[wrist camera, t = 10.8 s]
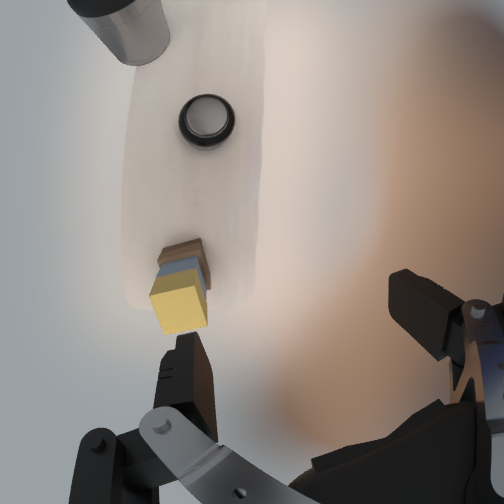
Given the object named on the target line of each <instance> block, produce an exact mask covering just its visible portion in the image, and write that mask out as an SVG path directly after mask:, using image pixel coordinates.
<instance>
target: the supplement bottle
mask: <svg viewBox="0 0 504 504" xmlns="http://www.w3.org/2000/svg"><path fill="white" fill-rule="evenodd" d="M178 124H179V129H180V132H181V134H182V136H183V137H184V138H185V139H186V141H187V142H188V143H189V144H190V145H192V146H193V147H195V148H197V149H200V150H211V149H214V148H217V147H219V146H220V145H221V144H223V143H224V142H225V141H226V139H227V138H228V137H229V136H230V135H231V133H232V131H233V129H234V125H235V114H234V111H233V108H232V107H231V105H230V104H229V103H228V102H227V101H226V100H225V99H224V98H222V97H220V96H218V95H214V94H202V95H198V96H195V97H193V98H192V99H190V100H189V101H188V102H187V103H186V104H185V105H184V106H183V108H182V109H181V111H180V114H179V119H178Z"/></svg>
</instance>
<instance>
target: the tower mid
mask: <svg viewBox="0 0 504 504" xmlns="http://www.w3.org/2000/svg"><path fill="white" fill-rule="evenodd" d="M194 268H196V269H197V273H198V276H199V279H200V283H201V286H202V289H203V293H204V296H205V299H206V286H205V282H204V279H203V275H202V272H201V268H200V265H199V261H198V258H197V255H196V256H192V257H188V258H184V259H180V260H176V261H172V262H168V263H164V264H162V265H161V267H160V270H159V272H158V274H157V277H160V276H165V275H169V274H173V273H177V272H181V271H185V270H189V269H194ZM157 277H156V278H157Z"/></svg>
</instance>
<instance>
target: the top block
mask: <svg viewBox="0 0 504 504" xmlns="http://www.w3.org/2000/svg"><path fill="white" fill-rule="evenodd" d="M149 297H150V300H151V303H152V305H153V308H154V310H155V313H156V315H157V318H158V320H159V323H160V325H161V327H162V330H163V332H164V334H165V335H167V334H172V333H176V332H182V331H187V330H191V329H196V328H201V327H205V326H207V324H208V323H207V302H206V299H205V296H204V293H203V289H202V286H201V283H200V279H199V276H198V273H197V269H196V268H194V269H189V270H185V271H181V272H177V273H173V274H169V275H165V276H160V277H157V278H156V280H155V282H154V285H153V287H152V290H151V292H150V295H149Z"/></svg>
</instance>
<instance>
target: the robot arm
mask: <svg viewBox="0 0 504 504" xmlns="http://www.w3.org/2000/svg"><path fill="white" fill-rule="evenodd" d="M67 2H68V4H69V5H70V7H71V8H72V9H73V10H74V11H75V12H76V14H77V15H78V16H79V17H80V18H81V19H82V20H83V21H84V22H85V23H86V24H87V25H88V26H89V27H90V29H91V30H92V31H93V32H94V33H95V34H96V35H97V36H98V37H99V38H100V40H101V41H102V42H103V43H104V44H105V45H106V46H107V47H108V49H109V50H110V51H111V52H112V53H113V54H114V55H115V56H116V57H117V59H118V60H119V61H120V62H122V63H124V64H127V65H131V66H137V65H143V64H146V63H149V62H151V61H153V60H154V59H156V58H157V57H159V56H160V55H161V54H162V53H163V52H164V51H165V49H166V47H167V46H168V43H169V40H170V33H169V29H168V25H167V21H166V18H165V14H164V11H163V7H162V3H161V0H67ZM388 308H389V312H390V315H391V317H392V318H393V319H394V320H395V321H396V322H397V323H398V324H399V325H400V326H401V327H402V328H403V329H404V330H406V331H407V332H408V333H409V334H410V335H411V336H412V337H413V338H414V339H415V340H416V341H417V342H418V343H419V344H420V345H421V346H422V347H424V348H425V349H426V350H427V351H428V352H429V353H430V354H431V355H432V356H433V357H434V358H435V359H436V360H437V361H440V360H442V359H443V358H445V357H446V356H449V357H450V361H449V386H450V399H449V404H448V405H444V404H443V403H442V402H441V401H440V399H437V400H436V401H434V402H433V403H431V404H429V405H428V406H426V407H425V408H423V409H421V410H420V411H418V412H416V413H415V414H413V415H412V416H411V417H409V418H408V419H407V420H406V421H405V422H404V423H403V424H402V425H400V426H399V427H398V428H397V429H396V430H395V431H393V432H392V433H391V434H390V435H388V436H387V437H385V438H382V439H378V440H374V441H370V442H365V443H360V444H355V445H350V446H346V447H343V448H341V449H338V450H335V451H333V452H330V453H327V454H324V455H322V456H318V457H315V458H312V459H311V462H312V468H311V469H309V470H307V471H306V472H304V473H303V474H301V475H300V476H298V477H297V478H296V479H295V480H294V481H293V482H291V483H290V484H289V485H288V486H286V485H284V484H283V483H281V482H279V481H278V480H276V479H274V478H273V477H271V476H270V475H268V474H266V473H265V472H263V471H262V470H260V469H259V468H257V467H256V466H254V465H253V464H251V463H250V462H248V461H247V460H245V459H244V458H243V457H241V456H240V455H238V454H237V453H236V452H234V451H233V450H231V449H230V448H228V447H227V446H225V445H222V446H219V445H218V444H216V443H217V442H218V433H217V422H216V410H215V397H214V384H213V373H212V368H211V365H210V362H209V359H208V357H207V355H206V352H205V350H204V347H203V345H202V342H201V340H200V337H199V335H198V333H197V332H191V333H187V334H182V335H178V336H177V339H176V348H175V349H174V350H169V351H167V353H166V354H165V355H164V357H163V358H162V360H161V363H160V369H159V370H160V372H159V375H158V381H157V387H156V393H155V399H154V406H153V410H151V411H149V412H148V413H147V414H145V416H144V417H143V418H142V419H141V421H140V424H139V428H137V429H135V430H132V431H129V432H126V433H124V434H120V435H118V436H116V435H115V434H114V433H113V432H112V431H111V430H109V429H107V428H96V429H93V430H91V431H89V432H88V433H87V434H86V435H85V436H84V437H83V438H82V440H81V443H80V446H79V450H78V455H77V459H76V464H75V469H74V474H73V480H72V485H71V492H70V497H69V504H160V503H159V486H161V485H164V484H167V483H170V482H173V481H176V480H179V481H180V483H181V484H182V485H183V486H184V487H185V488H186V489H187V490H188V491H189V492H190V493H191V494H192V495H193V496H194V497H195V498H197V499H198V500H199V501H200V502H201V503H202V504H504V295H503V299H502V303H500V304H496V305H493V306H491V305H490V304H489V303H488V302H486V301H483V300H480V299H472V300H468V301H466V302H465V301H463V300H462V299H460V298H459V297H457V296H455V295H454V294H452V293H451V292H449V291H447V290H446V289H443V287H441V286H440V285H437V283H435V282H433V281H432V280H430V279H428V278H424V277H421V276H418V275H416V274H414V273H413V272H411V271H410V270H408V269H403V270H400V271H398V272H395V273H392V274H391V275H390V276H389V299H388Z"/></svg>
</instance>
